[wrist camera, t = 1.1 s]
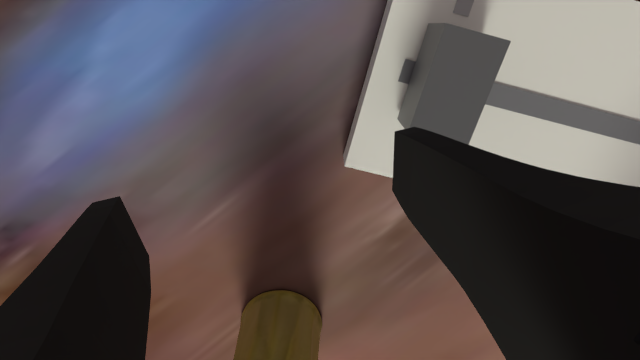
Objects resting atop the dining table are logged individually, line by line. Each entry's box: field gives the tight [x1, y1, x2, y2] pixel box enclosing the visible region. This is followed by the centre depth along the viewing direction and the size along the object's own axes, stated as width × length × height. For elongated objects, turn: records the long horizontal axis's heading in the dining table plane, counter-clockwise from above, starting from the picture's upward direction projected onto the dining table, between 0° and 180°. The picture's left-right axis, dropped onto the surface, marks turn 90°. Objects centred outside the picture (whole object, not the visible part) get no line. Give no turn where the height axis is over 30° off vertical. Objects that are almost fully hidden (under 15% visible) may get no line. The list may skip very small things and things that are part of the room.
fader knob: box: [397, 23, 511, 145], centre depth 19 cm, size 3×5×3 cm, turn 166°
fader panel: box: [343, 0, 640, 187], centre depth 22 cm, size 20×12×2 cm, turn 76°
